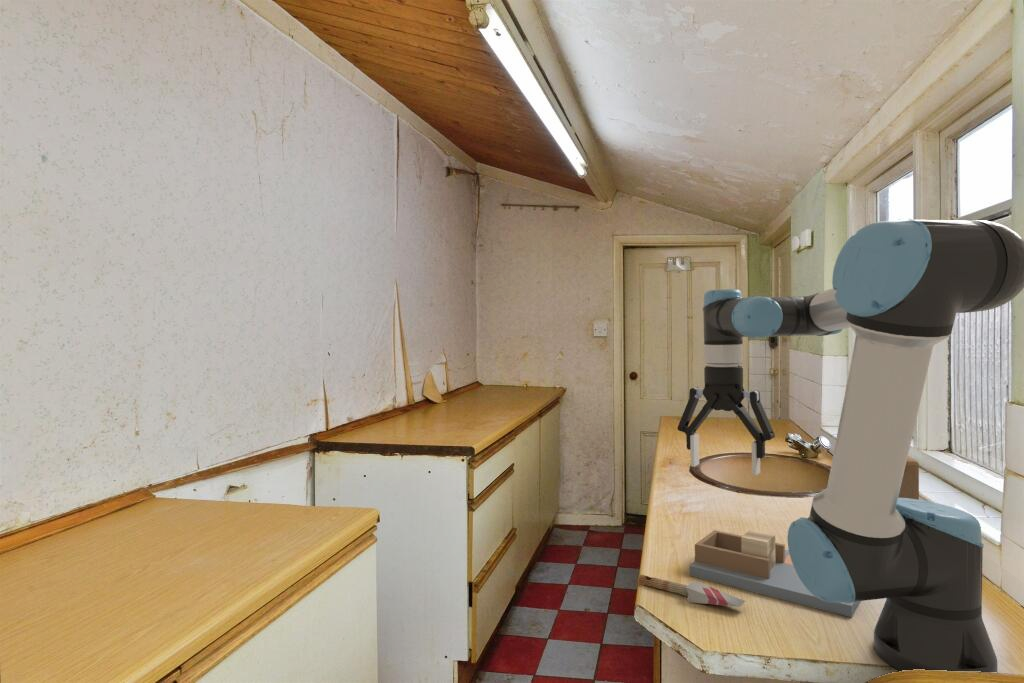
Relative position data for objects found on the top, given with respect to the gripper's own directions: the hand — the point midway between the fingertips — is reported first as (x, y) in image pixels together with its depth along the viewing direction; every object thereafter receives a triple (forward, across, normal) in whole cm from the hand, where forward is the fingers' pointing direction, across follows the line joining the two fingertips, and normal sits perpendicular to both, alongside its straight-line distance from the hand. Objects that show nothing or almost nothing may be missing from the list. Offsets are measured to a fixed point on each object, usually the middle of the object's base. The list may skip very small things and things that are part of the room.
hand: (724, 469), depth 125 cm
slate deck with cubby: (+20, -9, -2) cm, 22 cm away
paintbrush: (+21, 0, +17) cm, 27 cm away
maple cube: (+18, -7, 0) cm, 20 cm away
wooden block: (+21, -24, -35) cm, 47 cm away
